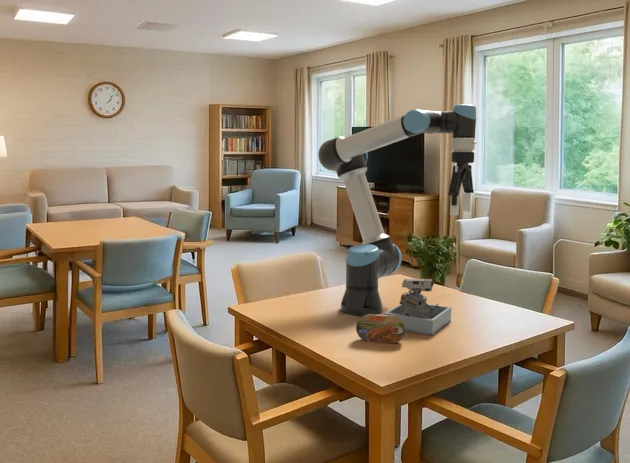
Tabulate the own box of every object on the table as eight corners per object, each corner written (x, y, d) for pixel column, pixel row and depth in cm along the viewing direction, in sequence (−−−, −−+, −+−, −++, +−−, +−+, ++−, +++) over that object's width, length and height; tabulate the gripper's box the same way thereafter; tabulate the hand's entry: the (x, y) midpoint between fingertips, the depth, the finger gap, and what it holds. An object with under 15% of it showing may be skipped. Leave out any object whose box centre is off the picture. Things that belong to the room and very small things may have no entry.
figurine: (429, 328, 205) (431, 283, 203) (396, 323, 211) (398, 279, 209) (438, 321, 213) (440, 278, 211) (406, 316, 219) (408, 274, 216)
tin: (355, 340, 195) (356, 314, 194) (357, 337, 198) (357, 311, 197) (404, 344, 191) (405, 317, 190) (405, 341, 194) (406, 315, 193)
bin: (384, 327, 208) (384, 312, 208) (405, 314, 224) (405, 300, 224) (432, 335, 200) (433, 320, 200) (450, 321, 216) (451, 307, 216)
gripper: (463, 151, 201) (460, 217, 204) (484, 150, 223) (481, 210, 226) (440, 151, 205) (438, 216, 208) (463, 150, 226) (460, 209, 229)
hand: (460, 213), depth 217 cm, fingers open, 13 cm apart
